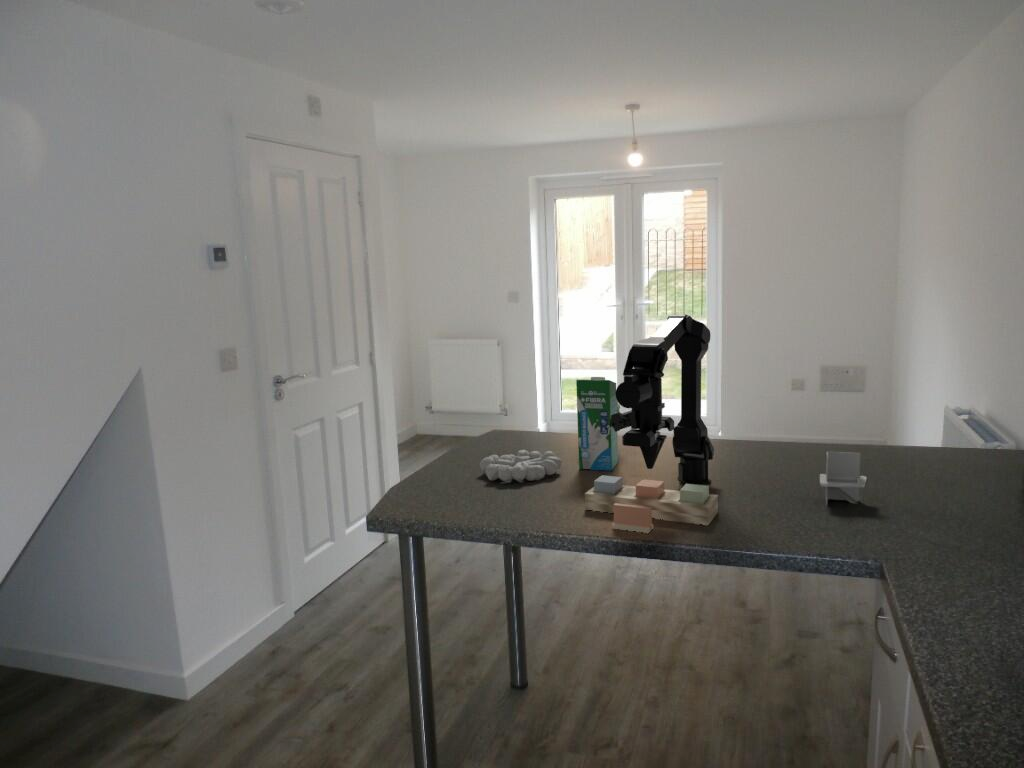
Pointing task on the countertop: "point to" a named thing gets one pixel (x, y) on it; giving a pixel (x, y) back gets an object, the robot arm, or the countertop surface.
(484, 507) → the countertop surface
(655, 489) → the terracotta button
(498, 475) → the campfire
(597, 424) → the milk carton
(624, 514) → the terracotta sign
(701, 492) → the sage button
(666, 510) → the button panel
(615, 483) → the slate button
